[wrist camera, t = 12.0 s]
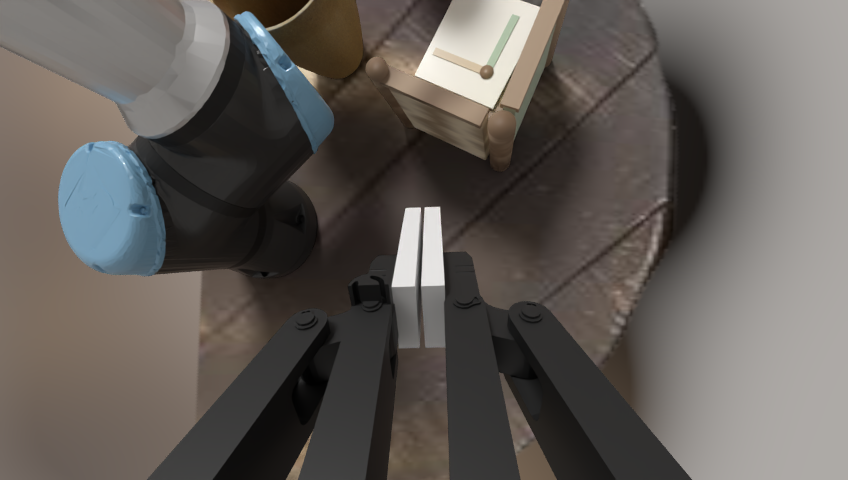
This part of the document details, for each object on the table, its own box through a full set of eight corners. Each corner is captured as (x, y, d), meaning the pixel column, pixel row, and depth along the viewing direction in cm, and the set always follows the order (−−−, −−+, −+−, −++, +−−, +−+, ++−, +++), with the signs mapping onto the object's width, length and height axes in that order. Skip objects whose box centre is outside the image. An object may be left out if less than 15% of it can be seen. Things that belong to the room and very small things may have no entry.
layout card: (415, 76, 46) (414, 74, 45) (462, -18, 45) (462, -21, 44) (492, 109, 43) (492, 108, 43) (544, 11, 42) (545, 8, 42)
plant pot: (408, 38, 46) (363, -72, 30) (344, 122, 48) (270, 60, 32) (335, -15, 49) (260, -140, 33) (277, 67, 51) (180, -15, 35)
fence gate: (513, 150, 42) (521, 106, 29) (497, 145, 42) (498, 99, 30) (554, 53, 41) (580, -35, 29) (537, 49, 42) (555, -40, 29)
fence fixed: (399, 125, 46) (360, 75, 33) (408, 109, 46) (372, 51, 33) (504, 175, 43) (508, 141, 29) (514, 157, 42) (522, 114, 29)
